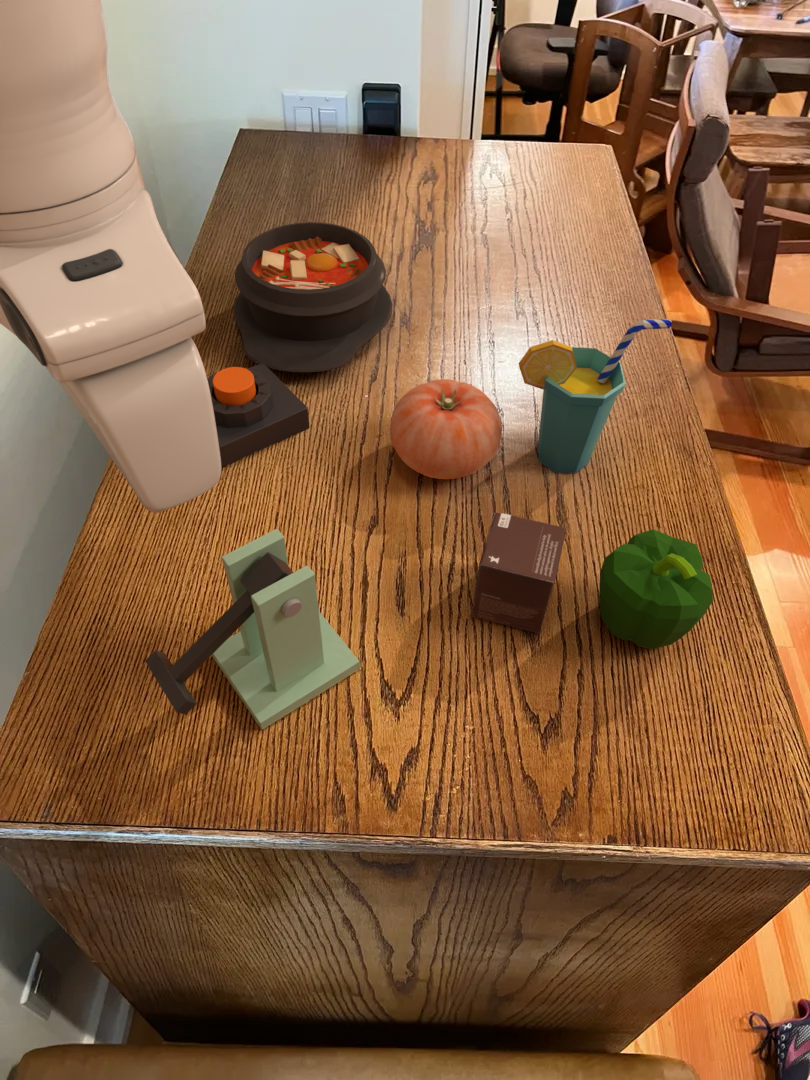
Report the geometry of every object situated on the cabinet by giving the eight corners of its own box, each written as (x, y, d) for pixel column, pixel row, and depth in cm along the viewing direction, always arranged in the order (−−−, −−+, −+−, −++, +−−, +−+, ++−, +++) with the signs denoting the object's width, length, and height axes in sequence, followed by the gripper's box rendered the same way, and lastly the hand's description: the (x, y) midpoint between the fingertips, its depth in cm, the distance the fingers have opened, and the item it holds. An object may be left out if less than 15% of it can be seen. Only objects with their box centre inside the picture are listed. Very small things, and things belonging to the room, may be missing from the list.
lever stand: (261, 730, 58) (237, 639, 48) (211, 656, 62) (179, 557, 52) (360, 669, 61) (356, 572, 52) (306, 602, 65) (293, 501, 56)
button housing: (214, 471, 75) (206, 437, 72) (173, 421, 80) (163, 386, 76) (309, 427, 79) (306, 393, 76) (265, 382, 84) (260, 348, 80)
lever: (192, 716, 53) (169, 711, 51) (160, 665, 56) (138, 658, 54) (312, 595, 53) (295, 585, 51) (275, 549, 55) (257, 538, 53)
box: (539, 636, 64) (554, 584, 58) (469, 618, 65) (477, 564, 59) (552, 580, 68) (567, 526, 62) (485, 564, 69) (494, 509, 63)
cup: (611, 415, 82) (650, 290, 70) (650, 464, 77) (697, 339, 66) (492, 443, 79) (511, 317, 67) (524, 495, 74) (551, 370, 62)
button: (227, 411, 75) (224, 397, 73) (208, 390, 77) (205, 376, 75) (263, 396, 76) (261, 382, 75) (243, 375, 78) (241, 361, 77)
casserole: (377, 394, 83) (377, 328, 77) (209, 378, 84) (195, 311, 78) (403, 269, 99) (405, 206, 93) (262, 257, 100) (253, 194, 94)
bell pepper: (577, 584, 67) (603, 508, 60) (669, 580, 68) (706, 504, 60) (600, 668, 62) (631, 596, 54) (699, 662, 63) (743, 591, 55)
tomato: (418, 511, 72) (421, 449, 66) (372, 439, 79) (371, 376, 72) (517, 477, 76) (529, 416, 69) (465, 411, 82) (472, 348, 76)
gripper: (-92, 156, 37) (13, 382, 48) (61, 375, 27) (152, 601, 38) (37, 126, 40) (109, 347, 50) (222, 317, 30) (264, 544, 40)
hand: (129, 457), depth 44 cm, fingers closed
